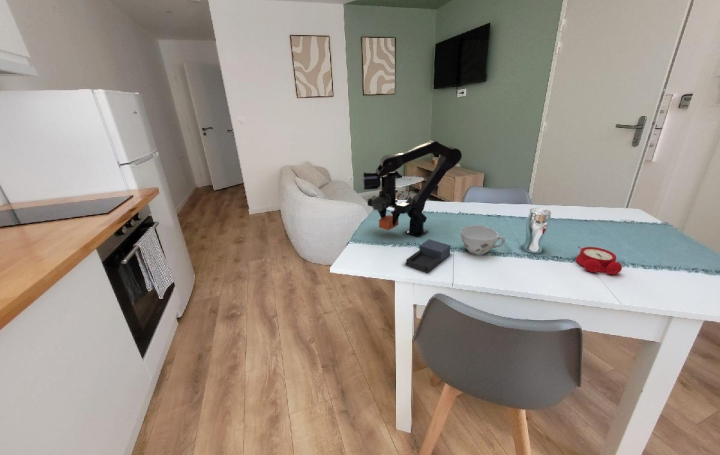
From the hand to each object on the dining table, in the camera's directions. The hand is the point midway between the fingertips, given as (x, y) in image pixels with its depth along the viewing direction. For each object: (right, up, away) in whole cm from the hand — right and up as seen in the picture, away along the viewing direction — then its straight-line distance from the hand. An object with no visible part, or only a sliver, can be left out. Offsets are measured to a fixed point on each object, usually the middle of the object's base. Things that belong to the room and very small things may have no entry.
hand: (388, 223), depth 122 cm
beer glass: (+51, -10, -15) cm, 55 cm away
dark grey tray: (+12, -13, -19) cm, 26 cm away
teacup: (+32, -11, -15) cm, 37 cm away
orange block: (0, -1, 0) cm, 1 cm away
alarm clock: (+65, -14, -28) cm, 72 cm away
